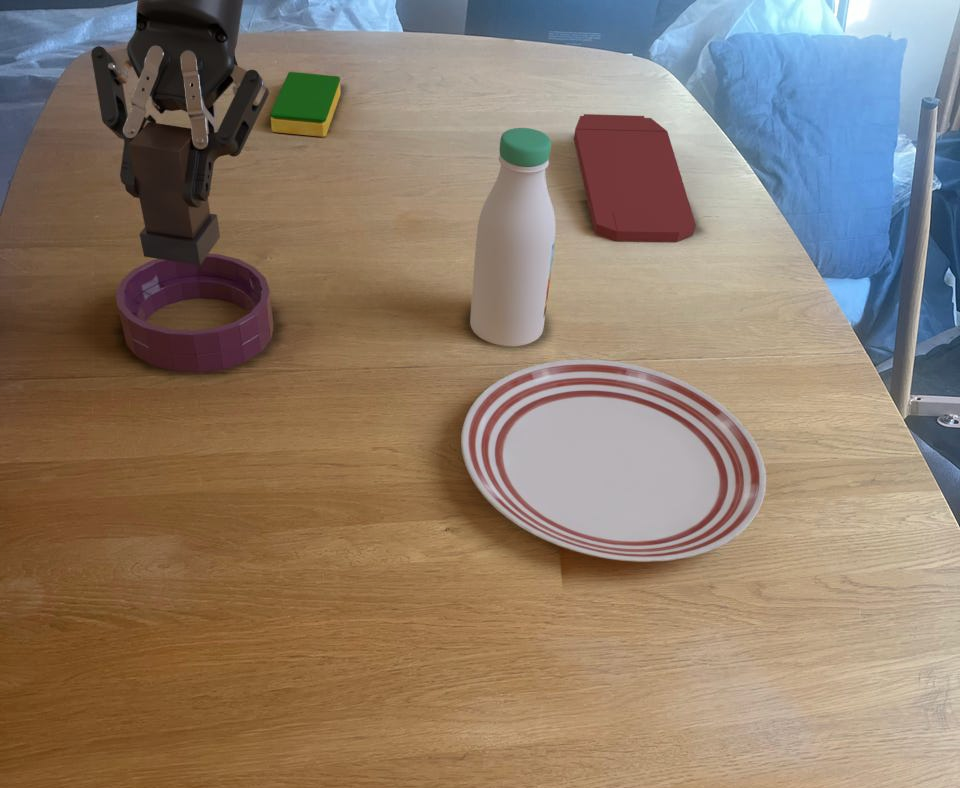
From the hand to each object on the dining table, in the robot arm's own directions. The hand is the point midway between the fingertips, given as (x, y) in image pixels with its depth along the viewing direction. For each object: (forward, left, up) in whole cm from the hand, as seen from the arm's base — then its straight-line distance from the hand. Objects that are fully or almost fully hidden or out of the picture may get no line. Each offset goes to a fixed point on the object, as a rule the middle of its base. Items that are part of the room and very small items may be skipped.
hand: (163, 198), depth 78 cm
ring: (-2, +11, -20) cm, 23 cm away
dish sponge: (+3, +64, -20) cm, 67 cm away
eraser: (0, +2, -5) cm, 5 cm away
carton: (+45, +48, -20) cm, 69 cm away
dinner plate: (+38, -7, -20) cm, 44 cm away
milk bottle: (+29, +15, -20) cm, 39 cm away
